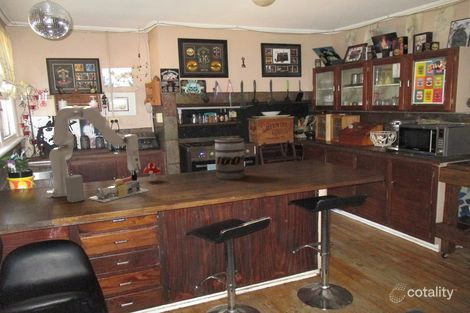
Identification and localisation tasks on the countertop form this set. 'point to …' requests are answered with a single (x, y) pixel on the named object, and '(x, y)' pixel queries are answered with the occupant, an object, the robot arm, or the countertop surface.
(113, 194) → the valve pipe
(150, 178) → the decorative mushroom
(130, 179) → the lever
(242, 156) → the barrel
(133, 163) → the robot arm
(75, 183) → the skincare box
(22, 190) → the countertop surface
